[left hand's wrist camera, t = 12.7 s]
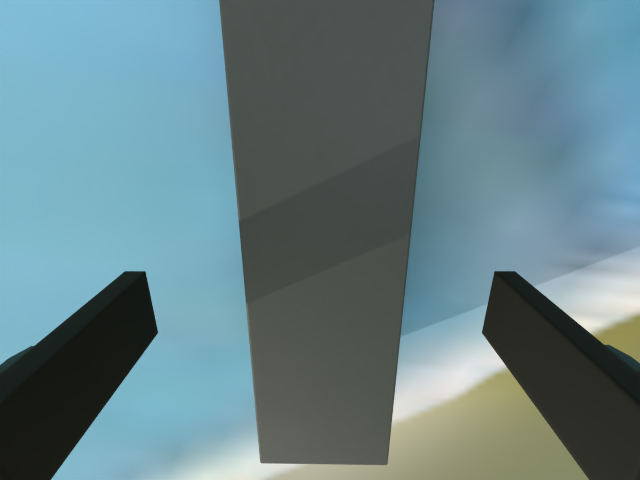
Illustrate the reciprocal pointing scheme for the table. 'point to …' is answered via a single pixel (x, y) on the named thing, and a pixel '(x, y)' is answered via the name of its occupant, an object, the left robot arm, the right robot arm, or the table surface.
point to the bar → (325, 212)
